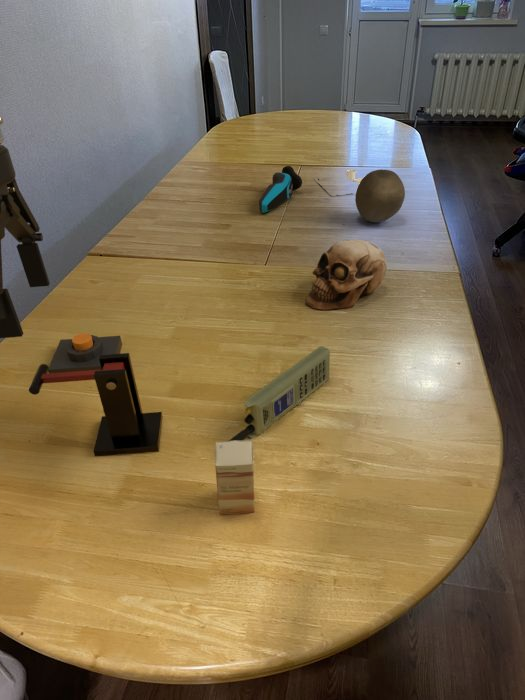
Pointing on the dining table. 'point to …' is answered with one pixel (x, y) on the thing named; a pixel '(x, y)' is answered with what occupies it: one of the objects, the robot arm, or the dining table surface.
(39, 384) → the switch lever
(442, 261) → the dining table surface
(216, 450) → the small printed carton
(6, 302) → the robot arm
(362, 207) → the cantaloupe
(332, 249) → the tan skull
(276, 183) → the electric shaver
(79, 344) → the button
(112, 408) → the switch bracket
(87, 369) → the control block
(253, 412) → the handheld radio
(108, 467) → the dining table surface
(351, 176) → the teacup and saucer
